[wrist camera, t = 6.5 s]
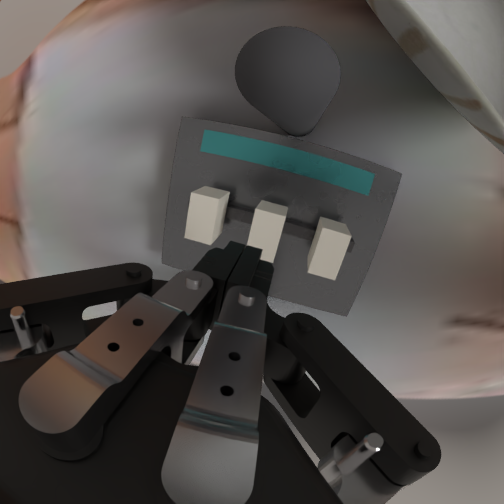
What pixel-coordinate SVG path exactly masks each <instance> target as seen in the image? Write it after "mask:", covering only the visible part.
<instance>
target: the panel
mask: <svg viewBox="0 0 504 504" xmlns="http://www.w3.org/2000/svg"><path fill="white" fill-rule="evenodd" d="M401 176H402V174H401V173H399V172H396V171H394V170H391V169H388V168H386V167H383V166H381V165H378V164H375V163H372V162H370V161H367V160H364V159H361V158H358V157H355V156H352V155H349V154H346V153H343V152H340V151H337V150H334V149H331V148H327V147H324V146H321V145H317V144H314V143H310V142H307V141H303V140H299V139H295V138H292V137H288V136H284V135H280V134H275V133H271V132H267V131H262V130H258V129H253V128H248V127H243V126H238V125H233V124H227V123H222V122H216V121H209V120H203V119H196V118H189V117H182V119H181V124H180V129H179V135H178V140H177V145H176V151H175V157H174V163H173V169H172V176H171V182H170V189H169V197H168V204H167V212H166V221H165V230H164V240H163V252H162V264H165V265H168V266H172V267H175V268H178V269H181V270H184V271H187V270H192V269H193V268H194V267H195V266H196V265H197V263H198V262H199V261H200V260H201V259H202V257H203V256H204V255H205V254H206V253H207V252H208V250H211V249H213V248H216V247H217V248H221V249H224V248H225V247H226V246H227V244H228V243H229V242H230V241H234V242H238V243H242V244H245V245H246V246H247V242H248V238H249V234H250V230H251V225H252V221H253V217H254V213H255V208H256V207H257V206H258V204H259V203H260V202H261V200H264V201H268V202H271V203H275V204H279V205H282V206H286V207H288V211H287V215H286V218H285V222H284V226H283V229H282V233H281V237H280V240H279V244H278V247H277V251H276V254H275V258H274V261H273V263H271V264H272V265H273V267H274V272H273V277H272V281H271V285H270V289H269V293H268V296H271V297H275V298H278V299H282V300H286V301H289V302H293V303H296V304H300V305H304V306H308V307H311V308H315V309H319V310H323V311H327V312H331V313H335V314H338V315H342V316H346V317H347V315H348V313H349V311H350V308H351V306H352V304H353V302H354V300H355V298H356V296H357V293H358V291H359V289H360V287H361V284H362V282H363V280H364V278H365V275H366V273H367V271H368V268H369V266H370V263H371V261H372V259H373V256H374V254H375V251H376V249H377V246H378V243H379V241H380V238H381V236H382V233H383V230H384V227H385V225H386V222H387V219H388V216H389V213H390V211H391V208H392V205H393V202H394V199H395V195H396V192H397V189H398V186H399V183H400V179H401ZM204 186H208V187H212V188H216V189H220V190H225V191H229V192H230V194H229V199H228V204H227V209H226V214H225V219H224V224H223V229H222V233H221V234H220V235H219V236H218V238H217V239H216V240H215V241H214V242H213V243H212V244H211V245H208V244H204V243H201V242H197V241H194V240H190V239H187V238H184V237H185V230H186V223H187V216H188V209H189V203H190V196H191V192H193V191H195V190H197V189H199V188H202V187H204ZM320 216H321V217H324V218H328V219H331V220H334V221H337V222H341V223H344V224H346V226H347V228H348V230H349V232H350V234H351V236H352V237H351V239H350V242H349V245H348V248H347V250H346V253H345V256H344V258H343V261H342V264H341V266H340V269H339V271H338V274H337V276H336V279H335V280H332V279H328V278H325V277H321V276H318V275H314V274H310V273H308V258H307V257H308V254H309V251H310V248H311V245H312V241H313V238H314V235H315V232H316V229H317V226H318V223H319V219H320ZM260 260H261V259H260ZM263 261H264V260H263ZM267 262H268V261H267Z"/></svg>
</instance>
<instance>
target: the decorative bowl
mask: <svg viewBox="0 0 504 504" xmlns="http://www.w3.org/2000/svg"><path fill="white" fill-rule="evenodd" d="M366 1H367V3H368V4H369V6H370V7H371V9H372V10H373V12H374V13H375V14H376V16H377V17H378V18H379V20H380V21H381V23H382V24H383V25H384V27H385V28H386V29H387V30H388V32H389V33H390V35H391V36H392V37H393V38H394V40H395V41H396V42H397V43H398V45H399V46H400V47H401V48H402V50H403V51H404V52H405V53H406V54H407V56H408V57H409V58H410V59H411V60H412V62H413V63H414V64H415V65H416V66H417V67H418V69H419V70H420V71H421V72H422V73H423V74H424V75H425V77H426V78H427V79H428V80H429V81H430V82H431V83H432V84H433V85H434V87H435V88H436V89H437V90H438V91H439V92H440V93H441V94H442V95H443V96H444V97H445V98H446V99H447V100H448V101H449V102H450V103H451V104H452V105H453V106H454V107H455V108H456V110H457V111H458V112H459V113H460V114H461V115H462V116H464V117H465V118H466V119H467V120H468V121H469V122H470V123H471V124H472V125H473V126H474V127H475V128H476V129H477V130H478V131H479V132H480V133H481V134H482V135H483V136H484V137H485V138H487V139H488V140H489V141H490V142H491V143H492V144H493V145H494V146H495V147H496V148H498V149H499V150H500V151H501V152H502V153H503V154H504V0H366Z"/></svg>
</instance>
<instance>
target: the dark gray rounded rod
mask: <svg viewBox="0 0 504 504" xmlns="http://www.w3.org/2000/svg"><path fill="white" fill-rule="evenodd" d="M235 78H236V82H237V85H238V88H239V90H240V92H241V93H242V95H243V96H244V98H245V99H246V100H247V101H248V102H249V103H250V104H251V105H252V106H254V107H255V108H256V109H258V110H259V111H260V112H262V113H263V114H264V115H266V116H267V117H268V118H270V119H271V120H272V121H273V122H275V123H276V124H277V125H278V126H280V127H281V128H282V129H283V130H285V131H286V132H287V133H289V134H290V135H293V136H298V137H299V136H305V135H307V134H309V133H310V132H311V131H312V130H313V129H314V127H315V125H316V124H317V122H318V121H319V119H320V117H321V116H322V114H323V113H324V111H325V110H326V108H327V106H328V105H329V103H330V102H331V100H332V99H333V97H334V95H335V94H336V92H337V90H338V87H339V84H340V78H341V70H340V64H339V61H338V58H337V56H336V54H335V52H334V51H333V49H332V48H331V47H330V45H329V44H328V43H327V42H326V41H325V40H323V39H322V38H321V37H319V36H318V35H316V34H314V33H312V32H310V31H308V30H305V29H302V28H297V27H285V26H284V27H276V28H271V29H268V30H265V31H263V32H261V33H259V34H257V35H255V36H254V37H252V38H251V39H250V40H249V41H248V42H247V43H246V44H245V45H244V46H243V48H242V49H241V51H240V53H239V55H238V57H237V60H236V65H235Z"/></svg>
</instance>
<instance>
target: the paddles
mask: <svg viewBox="0 0 504 504" xmlns="http://www.w3.org/2000/svg"><path fill="white" fill-rule="evenodd" d="M229 194H230V192H229V191H225V190H220V189H216V188H212V187H208V186H204V187H202V188H199V189H197V190H195V191H193V192H191V196H190V203H189V209H188V216H187V223H186V230H185V237H184V238H187V239H190V240H194V241H197V242H201V243H204V244H208V245H211V244H212V243H213V242H214V241H215V240H216V239H217V238H218V236H219V235H220V234H221V233H222V229H223V224H224V219H225V214H226V209H227V204H228V199H229ZM287 211H288V207H286V206H282V205H279V204H275V203H271V202H268V201H264V200H261V202H260V203H259V204H258V206H257V207H256V208H255V213H254V217H253V221H252V225H251V230H250V234H249V238H248V242H247V245H249V246H253V247H256V248H260V249H263V250H262V255H261V258H260V259H261V260H264V261H268V262H271V263H273V261H274V258H275V254H276V251H277V247H278V244H279V240H280V237H281V233H282V229H283V226H284V222H285V218H286V215H287ZM351 237H352V236H351V234H350V232H349V230H348V228H347V226H346V224H344V223H341V222H337V221H334V220H331V219H328V218H324V217H321V216H320V219H319V223H318V226H317V229H316V232H315V235H314V238H313V241H312V245H311V248H310V251H309V254H308V257H307V258H308V273H310V274H314V275H318V276H321V277H325V278H328V279H332V280H335V279H336V276H337V274H338V271H339V269H340V266H341V264H342V261H343V258H344V256H345V253H346V250H347V248H348V245H349V242H350V239H351Z"/></svg>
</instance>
